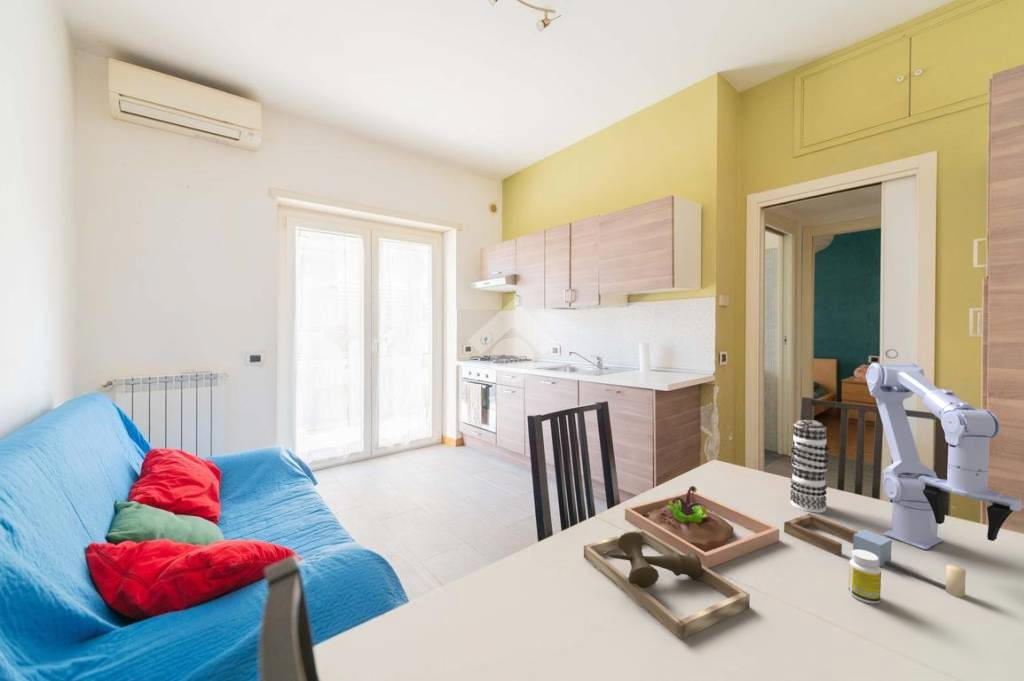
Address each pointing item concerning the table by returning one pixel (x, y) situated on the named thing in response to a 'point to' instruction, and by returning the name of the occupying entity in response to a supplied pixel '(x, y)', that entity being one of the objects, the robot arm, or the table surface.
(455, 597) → the table surface
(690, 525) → the plant
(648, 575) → the kendama
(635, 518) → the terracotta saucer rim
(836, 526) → the walnut lane
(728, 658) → the table surface
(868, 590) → the supplement bottle
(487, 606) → the table surface
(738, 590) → the beech serving tray
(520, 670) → the table surface
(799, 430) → the decorative candle
